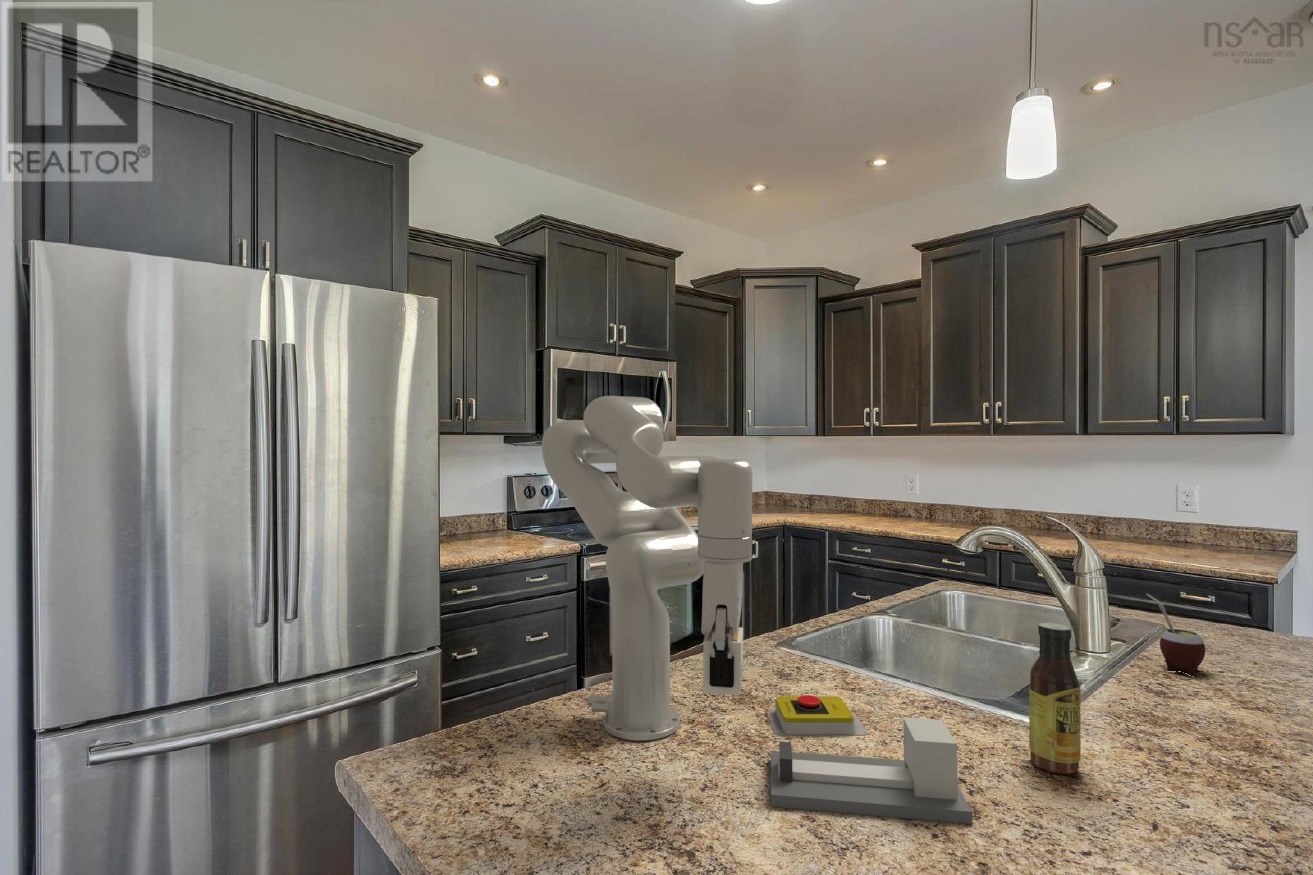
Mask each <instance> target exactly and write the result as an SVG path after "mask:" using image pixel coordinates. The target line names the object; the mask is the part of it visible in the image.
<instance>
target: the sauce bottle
mask: <svg viewBox="0 0 1313 875" xmlns="http://www.w3.org/2000/svg"><path fill="white" fill-rule="evenodd" d="M1037 627H1038V636H1039V650H1038V653H1039V656H1038V658H1037V659H1036V660H1035V662H1034V664H1032V666H1031V668H1030V671H1029V672H1030V675H1029V677H1030V680H1029V681H1030V682H1029V683H1030V686H1029V689H1028V690H1029V691H1028V692H1029V699H1028V700H1029V702H1028V703H1029V704H1028V705H1029V708H1028V710H1029V712H1028V715H1029V718H1028V719H1029V720H1028V722H1029V724H1028V728H1029V729H1028V730H1029V731H1028V740H1029V741H1028V747H1029V750H1030V752H1029V753H1030V756H1029V757H1030V759H1031V760H1030V761H1031V762H1032V764H1034V766H1036V767H1038V768H1040V769H1041V770H1044V771H1046V772H1049V773H1054V774H1059V775H1072V774H1076V773H1077V772H1078V771H1079V767H1080V761H1081V755H1082V754H1081V748H1082V747H1081V742H1082V741H1081V739H1082V738H1081V737H1082V736H1081V728H1082V726H1081V725H1082V724H1081V696H1082V695H1081V684H1080V682H1079V679H1078V675H1077V674H1076V671H1075V669H1074V665H1073V663H1072V660H1071V651H1070V650H1071V649H1070V648H1071V639H1072V628H1071V627H1069V626H1068V625H1065V624H1060V623H1053V622H1041V623H1038V626H1037Z"/></svg>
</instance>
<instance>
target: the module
mask: <svg viewBox="0 0 1313 875" xmlns="http://www.w3.org/2000/svg"><path fill="white" fill-rule="evenodd" d="M715 631H716V628H715ZM725 633H730V630H726V631H725ZM711 641H712V629H711V631H710V633H707V634H706V635H704V638H703V645H702V646H703V647H702V648H703V653H702V654H703V666H702V672H703V673H702V693H703V694H715V695H726V696H730V695H731V696H739V697H740V696H741V695H742V680H743V677H744V676H743V675H744V674H743V673H744V664H743V663H744V627H741V626H739V628H738V633H737V635H735V636H734V637H733V640H732V656H733V657H734V686H733V687H732V688H727V687H713V686H711V685H710V655H711ZM725 641H727V643H728V639H725Z"/></svg>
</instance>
